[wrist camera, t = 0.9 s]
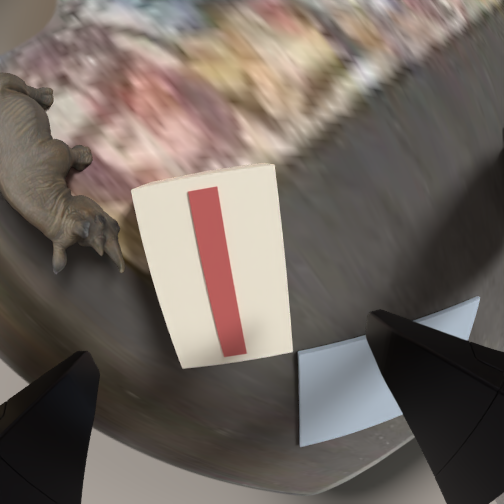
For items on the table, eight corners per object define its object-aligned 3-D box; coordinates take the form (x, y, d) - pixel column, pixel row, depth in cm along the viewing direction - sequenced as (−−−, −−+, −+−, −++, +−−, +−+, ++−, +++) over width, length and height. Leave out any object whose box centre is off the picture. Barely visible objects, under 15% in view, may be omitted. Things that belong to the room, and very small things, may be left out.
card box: (262, 162, 14) (274, 164, 11) (280, 317, 18) (293, 353, 14) (150, 181, 14) (130, 190, 11) (187, 332, 17) (182, 369, 14)
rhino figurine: (114, 274, 15) (71, 330, 10) (3, 115, 11) (-58, 113, 5) (162, 231, 15) (130, 276, 9) (41, 67, 10) (-18, 46, 5)
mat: (477, 296, 19) (480, 297, 19) (444, 391, 24) (446, 393, 23) (297, 351, 18) (298, 354, 18) (299, 444, 23) (300, 446, 22)
